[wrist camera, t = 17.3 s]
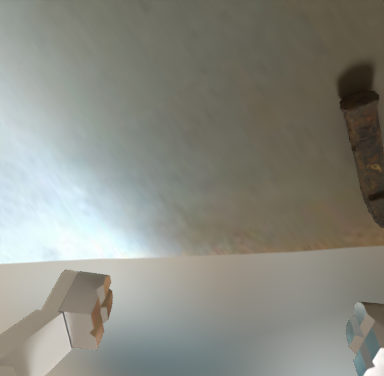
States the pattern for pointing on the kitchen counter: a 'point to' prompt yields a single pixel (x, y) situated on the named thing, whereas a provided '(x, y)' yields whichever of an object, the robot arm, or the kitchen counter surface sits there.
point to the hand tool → (367, 148)
